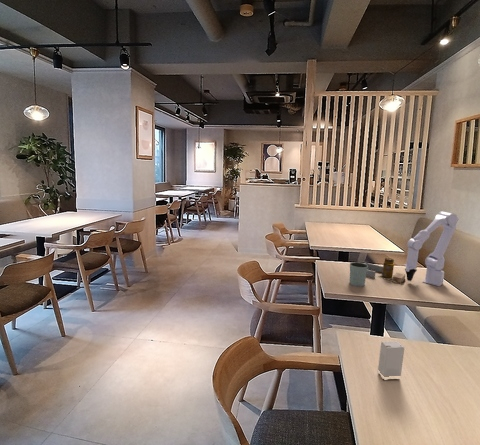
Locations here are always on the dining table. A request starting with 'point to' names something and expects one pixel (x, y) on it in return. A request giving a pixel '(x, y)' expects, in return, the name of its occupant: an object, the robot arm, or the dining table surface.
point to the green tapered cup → (358, 273)
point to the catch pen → (374, 268)
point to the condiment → (387, 269)
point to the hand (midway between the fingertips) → (409, 280)
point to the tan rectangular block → (398, 278)
